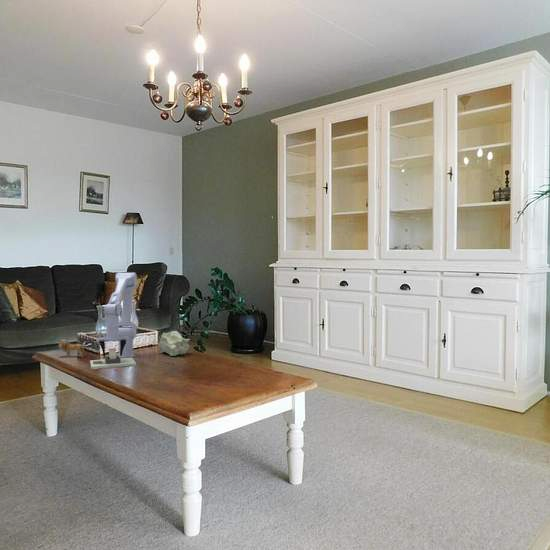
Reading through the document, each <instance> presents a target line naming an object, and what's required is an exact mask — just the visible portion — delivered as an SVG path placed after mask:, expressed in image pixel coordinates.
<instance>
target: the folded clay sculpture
mask: <svg viewBox="0 0 550 550" xmlns="http://www.w3.org/2000/svg"><path fill="white" fill-rule="evenodd" d="M190 340H191V339H190V338H184V337H183V336H182V334H181V333H180V332H178V331H177V330H172V331H170V332H162V334H161V338H160V340H159V341H158V342H159V343H158V344H159V345H158V348H160V349H161V352H162V353H163V352H166V353H167V354H168V355H169V356H171V357H177V356H178V355H182V356H183V354H184V355H186V353H187V351H188V350H189V349H190V345H189V344H188V342H190ZM166 353H165V354H166ZM176 355H177V356H176Z"/></svg>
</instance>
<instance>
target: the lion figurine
mask: <svg viewBox="0 0 550 550" xmlns="http://www.w3.org/2000/svg"><path fill="white" fill-rule="evenodd" d="M58 348H59V349H61V350H62V351H63V352H65V354H66V355H65V358H69V357H70V355H71V352H74V353H75V352H76V351H77V353H78V357H80V358H81V357H82V358H84V356H86V357H88V354H86V352H85V349H84V347H83V345H82V344H81V343H80V344H79V343H77V344H72V343H71V342H70V341H68V340H66V339H61V340H59V341H58Z"/></svg>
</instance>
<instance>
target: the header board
mask: <svg viewBox="0 0 550 550" xmlns="http://www.w3.org/2000/svg"><path fill="white" fill-rule="evenodd" d="M89 362H90V363H89V364H90V369H91V370H98V369H99V368H102V369H113V368H114V367H115V368H124V367H123V366H128V367H136V366H137V363H136V361H135V359H134V358H133V357H123V358H120V357H119V356H118V355H116V359H109V355H108V356H105V357H104V359H103V358H102V359H93V360H91V359H90V360H89Z"/></svg>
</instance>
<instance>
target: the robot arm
mask: <svg viewBox="0 0 550 550" xmlns="http://www.w3.org/2000/svg"><path fill="white" fill-rule="evenodd" d="M114 278H115V283H116V286H115V291H114V292H112V293H111V296H110V298H109V300H108V303H106V304H105V305H104V309H103V311H104V312H103V313H104V319H105V323H106V325H105V327H106V328H105V331H106V332H105V333H106V334H105V335H106V336H102V337H96V343H98V344H99V347H100V348H101V350H102V354H103V357H102V358H105V357H106V343H105V342H118V353H116V356H119V357H120V358H131V357H132V358H133V357H135V354H134V339H135V338H136V337H137V324H136V323H135V322H133V321H132V315H133V314H132V312H133V311H132V310H133V297H134V296H133V295H134V290H136V289H137V285H138V275H137V273H136V272H134V271H133V272H119V271H118V272H117V273H116V274H115V277H114ZM121 309H122V310H121ZM120 314H121V320H120V321H119V319H120V317H119V316H120Z"/></svg>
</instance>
